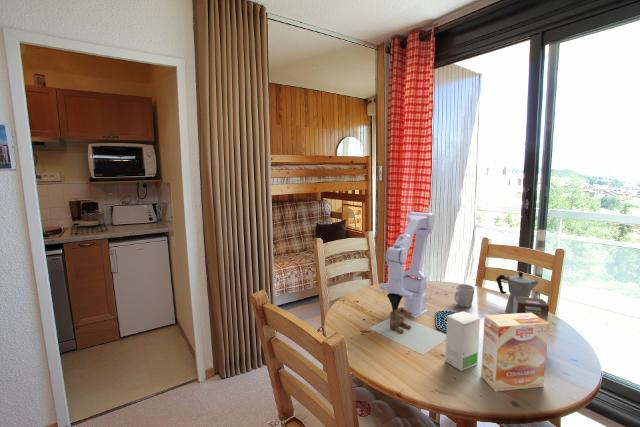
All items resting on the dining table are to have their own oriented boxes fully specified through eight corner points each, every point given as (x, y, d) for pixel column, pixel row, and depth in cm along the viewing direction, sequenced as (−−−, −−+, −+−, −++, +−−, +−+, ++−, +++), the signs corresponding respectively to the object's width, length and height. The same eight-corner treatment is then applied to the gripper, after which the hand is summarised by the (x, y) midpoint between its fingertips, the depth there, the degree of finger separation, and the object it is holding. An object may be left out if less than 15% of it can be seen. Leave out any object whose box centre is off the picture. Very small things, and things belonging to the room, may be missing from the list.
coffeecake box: (495, 392, 87) (499, 326, 84) (479, 375, 94) (483, 314, 91) (545, 387, 88) (550, 322, 86) (526, 371, 95) (530, 311, 93)
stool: (389, 329, 122) (390, 312, 121) (400, 323, 126) (401, 306, 125) (401, 334, 118) (401, 317, 117) (411, 328, 122) (412, 311, 121)
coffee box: (514, 346, 109) (517, 302, 107) (510, 337, 115) (512, 295, 113) (545, 350, 106) (549, 305, 104) (539, 341, 112) (542, 298, 110)
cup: (477, 306, 141) (478, 288, 140) (461, 310, 137) (462, 292, 136) (463, 300, 148) (464, 283, 147) (448, 304, 144) (448, 286, 143)
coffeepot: (535, 311, 135) (538, 271, 133) (537, 320, 127) (540, 278, 125) (495, 304, 143) (497, 266, 141) (494, 312, 135) (496, 272, 133)
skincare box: (461, 372, 96) (463, 324, 94) (443, 360, 102) (445, 315, 100) (478, 364, 100) (481, 317, 98) (461, 353, 106) (463, 309, 103)
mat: (396, 314, 134) (396, 314, 134) (450, 337, 116) (450, 336, 116) (368, 328, 123) (368, 328, 123) (423, 355, 105) (423, 355, 105)
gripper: (374, 275, 125) (374, 307, 126) (405, 285, 113) (404, 320, 115) (385, 271, 129) (385, 303, 131) (416, 280, 118) (415, 314, 120)
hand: (395, 311), depth 123 cm, fingers closed, pressing on stool
